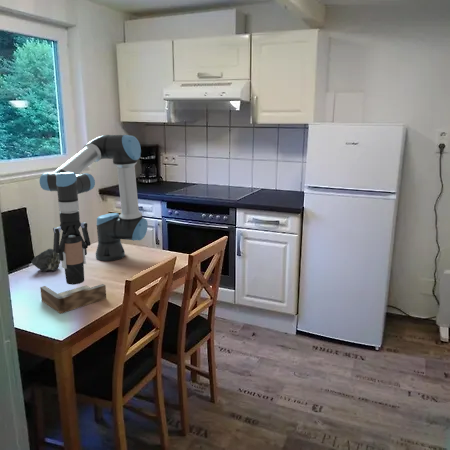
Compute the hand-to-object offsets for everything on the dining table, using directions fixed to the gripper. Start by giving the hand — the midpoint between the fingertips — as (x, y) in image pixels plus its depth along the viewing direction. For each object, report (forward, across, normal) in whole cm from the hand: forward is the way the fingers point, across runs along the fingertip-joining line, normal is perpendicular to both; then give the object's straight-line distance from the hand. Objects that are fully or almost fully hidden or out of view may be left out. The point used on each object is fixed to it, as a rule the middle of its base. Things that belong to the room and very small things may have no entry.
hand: (74, 265), depth 180 cm
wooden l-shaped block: (+14, +2, +1) cm, 14 cm away
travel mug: (+7, 0, 0) cm, 7 cm away
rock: (+14, -5, -40) cm, 43 cm away
